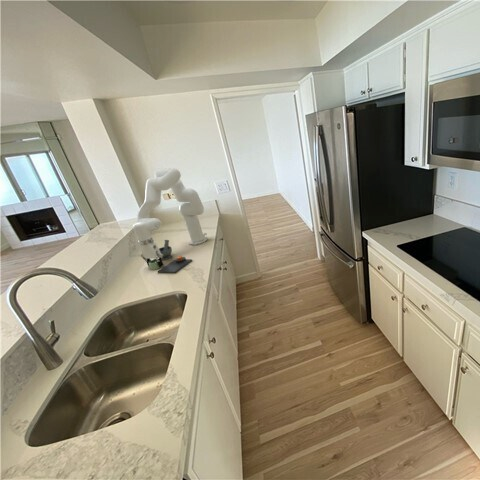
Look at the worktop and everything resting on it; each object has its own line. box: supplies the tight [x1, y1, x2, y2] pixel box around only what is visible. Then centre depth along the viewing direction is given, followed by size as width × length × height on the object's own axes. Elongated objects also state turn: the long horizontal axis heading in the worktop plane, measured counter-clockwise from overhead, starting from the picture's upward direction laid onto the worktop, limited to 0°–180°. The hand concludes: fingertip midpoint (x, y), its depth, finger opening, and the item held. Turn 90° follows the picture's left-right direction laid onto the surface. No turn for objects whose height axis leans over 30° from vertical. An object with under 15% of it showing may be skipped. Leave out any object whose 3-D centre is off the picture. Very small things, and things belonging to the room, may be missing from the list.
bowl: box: [147, 258, 163, 270], centre depth 172 cm, size 7×7×5 cm
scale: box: [157, 256, 193, 274], centre depth 170 cm, size 16×13×3 cm
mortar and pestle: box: [158, 239, 173, 261], centre depth 184 cm, size 11×9×12 cm
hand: (156, 265), depth 172 cm, fingers open, 7 cm apart
